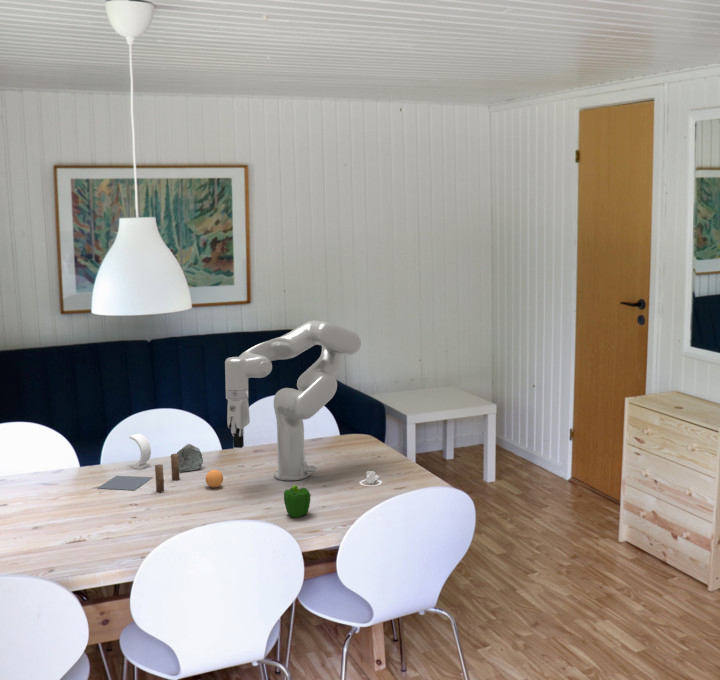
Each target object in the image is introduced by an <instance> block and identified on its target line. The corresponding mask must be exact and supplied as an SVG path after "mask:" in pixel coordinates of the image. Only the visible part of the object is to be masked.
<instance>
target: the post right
mask: <svg viewBox="0 0 720 680" xmlns="http://www.w3.org/2000/svg"><path fill="white" fill-rule="evenodd" d="M170 467H171V468H170V469H171V480H172V481H178V480H180V472H179V458H178V454H177V453H172V454H170Z"/></svg>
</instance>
